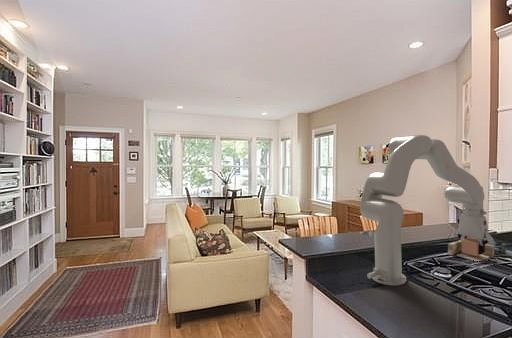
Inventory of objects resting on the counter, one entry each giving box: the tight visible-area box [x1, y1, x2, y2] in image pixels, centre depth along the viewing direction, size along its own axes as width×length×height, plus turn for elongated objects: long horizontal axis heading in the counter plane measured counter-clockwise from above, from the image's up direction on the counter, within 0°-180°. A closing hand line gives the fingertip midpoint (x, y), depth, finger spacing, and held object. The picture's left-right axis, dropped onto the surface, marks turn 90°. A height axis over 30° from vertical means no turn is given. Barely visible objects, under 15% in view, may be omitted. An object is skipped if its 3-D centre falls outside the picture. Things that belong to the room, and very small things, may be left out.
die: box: [471, 237, 495, 246], centre depth 140 cm, size 8×9×10 cm
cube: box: [461, 237, 484, 256], centre depth 131 cm, size 6×6×6 cm
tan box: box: [447, 239, 495, 263], centre depth 133 cm, size 13×12×5 cm
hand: (472, 250), depth 131 cm, fingers closed on cube, 6 cm apart
